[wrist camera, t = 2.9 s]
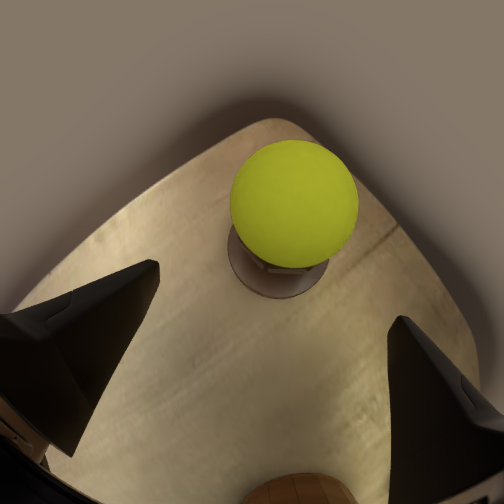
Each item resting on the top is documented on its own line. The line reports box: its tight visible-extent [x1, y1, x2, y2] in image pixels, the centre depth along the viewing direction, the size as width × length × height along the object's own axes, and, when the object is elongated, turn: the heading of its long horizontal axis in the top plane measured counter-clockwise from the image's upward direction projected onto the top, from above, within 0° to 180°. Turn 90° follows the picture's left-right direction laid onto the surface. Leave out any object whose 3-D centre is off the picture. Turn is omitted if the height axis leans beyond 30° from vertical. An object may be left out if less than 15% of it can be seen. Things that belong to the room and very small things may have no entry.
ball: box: [230, 140, 358, 268], centre depth 14 cm, size 7×7×7 cm
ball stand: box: [228, 224, 329, 299], centre depth 19 cm, size 8×8×6 cm
